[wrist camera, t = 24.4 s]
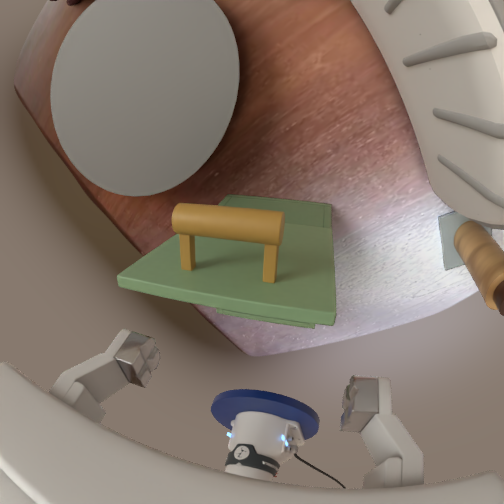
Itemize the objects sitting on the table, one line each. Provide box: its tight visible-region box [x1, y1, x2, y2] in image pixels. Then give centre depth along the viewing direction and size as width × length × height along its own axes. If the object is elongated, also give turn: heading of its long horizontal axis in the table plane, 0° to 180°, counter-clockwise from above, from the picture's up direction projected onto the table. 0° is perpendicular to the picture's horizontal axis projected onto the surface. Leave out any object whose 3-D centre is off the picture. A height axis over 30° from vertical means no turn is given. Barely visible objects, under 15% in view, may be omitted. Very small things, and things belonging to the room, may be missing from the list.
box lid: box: [117, 203, 336, 326], centre depth 20 cm, size 14×13×5 cm
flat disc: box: [51, 0, 239, 196], centre depth 27 cm, size 28×28×4 cm
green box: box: [216, 194, 332, 329], centre depth 34 cm, size 14×13×7 cm
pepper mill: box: [454, 220, 504, 316], centre depth 23 cm, size 5×5×13 cm
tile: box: [438, 211, 492, 271], centre depth 29 cm, size 8×8×1 cm
